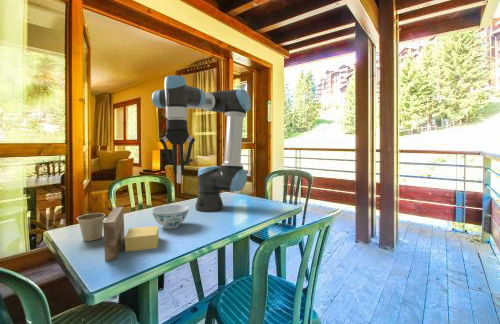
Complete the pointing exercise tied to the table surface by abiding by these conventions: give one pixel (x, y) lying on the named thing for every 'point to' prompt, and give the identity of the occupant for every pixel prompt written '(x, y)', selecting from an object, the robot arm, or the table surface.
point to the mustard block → (141, 238)
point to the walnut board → (113, 233)
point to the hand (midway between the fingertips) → (179, 182)
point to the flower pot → (91, 226)
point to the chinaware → (170, 215)
